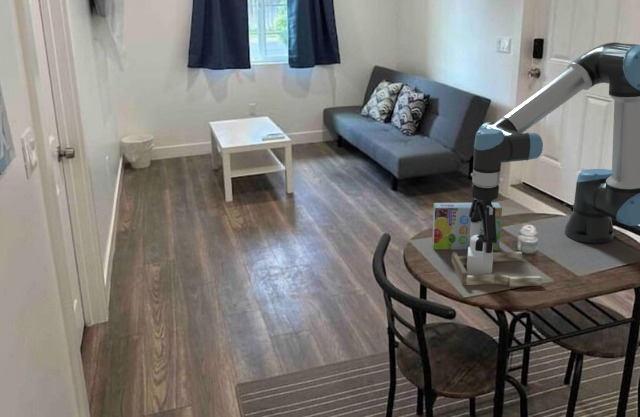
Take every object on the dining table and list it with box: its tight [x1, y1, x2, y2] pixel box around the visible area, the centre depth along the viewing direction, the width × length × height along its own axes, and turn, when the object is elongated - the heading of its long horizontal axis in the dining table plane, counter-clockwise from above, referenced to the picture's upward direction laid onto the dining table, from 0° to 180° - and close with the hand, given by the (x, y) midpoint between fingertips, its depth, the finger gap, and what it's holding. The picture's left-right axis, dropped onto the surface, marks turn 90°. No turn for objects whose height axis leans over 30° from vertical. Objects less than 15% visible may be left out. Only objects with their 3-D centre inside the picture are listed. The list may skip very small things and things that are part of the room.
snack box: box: [431, 202, 503, 251], centre depth 186 cm, size 21×6×15 cm, turn 84°
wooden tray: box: [450, 251, 543, 287], centre depth 170 cm, size 22×17×4 cm
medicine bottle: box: [466, 234, 494, 275], centre depth 169 cm, size 7×7×12 cm
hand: (480, 251), depth 168 cm, fingers open, 13 cm apart
